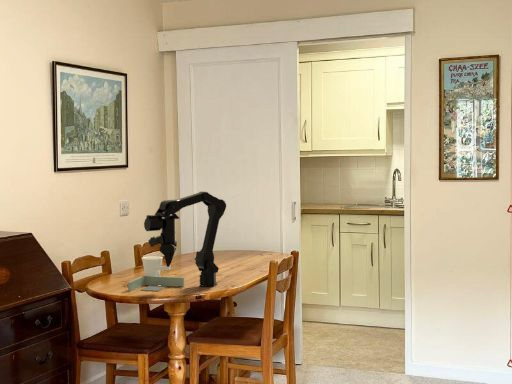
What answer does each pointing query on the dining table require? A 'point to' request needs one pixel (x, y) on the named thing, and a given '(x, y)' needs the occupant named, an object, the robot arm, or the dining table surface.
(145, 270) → the cup
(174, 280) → the corner frame
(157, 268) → the bracket
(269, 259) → the dining table surface
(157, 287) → the pad
